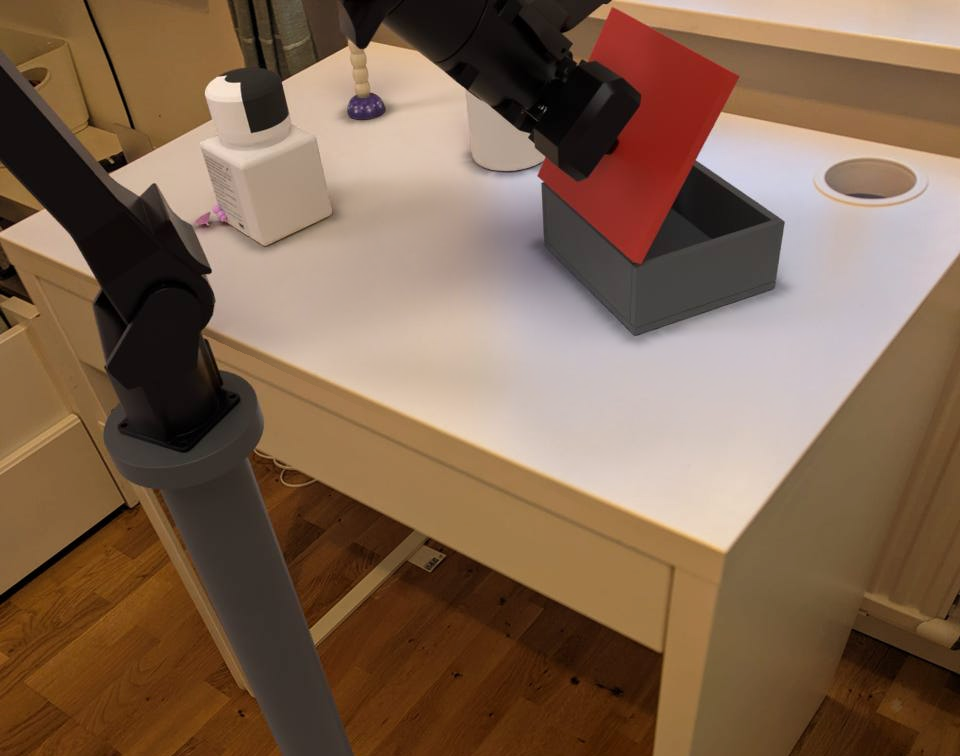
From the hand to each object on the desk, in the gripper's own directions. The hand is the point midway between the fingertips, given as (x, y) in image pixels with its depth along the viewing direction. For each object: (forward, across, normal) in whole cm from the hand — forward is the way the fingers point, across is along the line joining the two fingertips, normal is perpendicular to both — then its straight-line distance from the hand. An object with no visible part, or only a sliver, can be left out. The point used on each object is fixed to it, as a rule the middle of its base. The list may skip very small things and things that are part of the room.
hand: (612, 147), depth 68 cm
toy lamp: (+3, +44, +12) cm, 45 cm away
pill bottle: (+10, +25, +6) cm, 27 cm away
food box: (+10, 0, +5) cm, 12 cm away
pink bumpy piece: (-12, +27, +27) cm, 40 cm away
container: (-7, +26, +23) cm, 35 cm away
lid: (+1, 0, -1) cm, 2 cm away
